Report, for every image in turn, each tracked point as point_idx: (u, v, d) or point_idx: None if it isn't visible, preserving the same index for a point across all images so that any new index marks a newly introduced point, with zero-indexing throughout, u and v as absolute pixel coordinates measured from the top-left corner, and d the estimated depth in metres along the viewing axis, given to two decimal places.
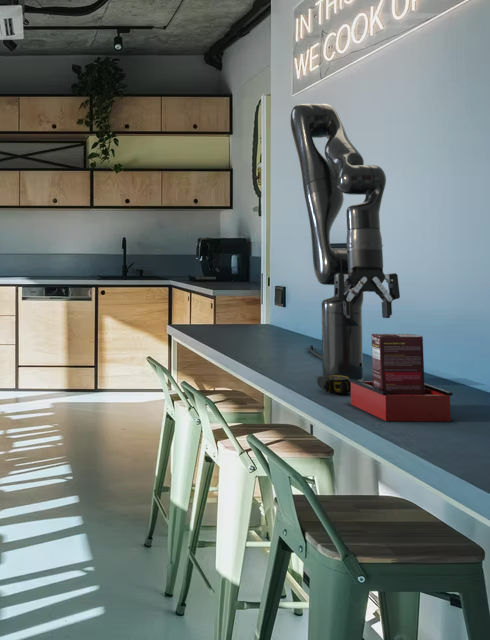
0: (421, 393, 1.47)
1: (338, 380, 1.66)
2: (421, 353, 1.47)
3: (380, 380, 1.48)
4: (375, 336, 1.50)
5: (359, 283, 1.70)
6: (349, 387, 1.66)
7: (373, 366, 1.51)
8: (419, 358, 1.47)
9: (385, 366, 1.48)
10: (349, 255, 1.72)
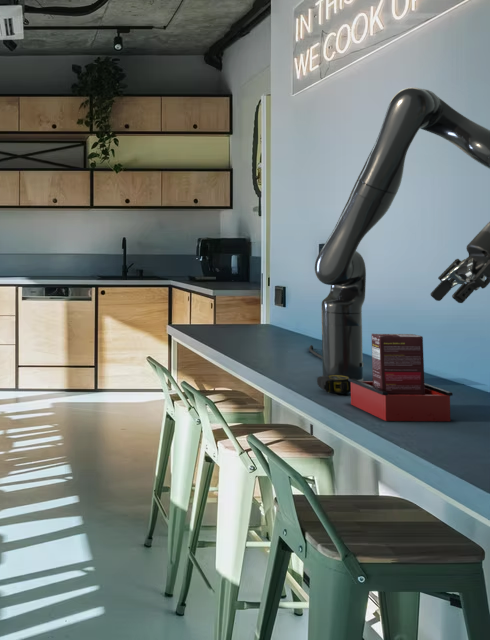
0: (421, 393, 1.47)
1: (338, 380, 1.66)
2: (421, 353, 1.47)
3: (381, 380, 1.48)
4: (375, 336, 1.50)
5: None
6: (349, 387, 1.66)
7: (373, 366, 1.51)
8: (419, 358, 1.47)
9: (385, 366, 1.48)
10: None
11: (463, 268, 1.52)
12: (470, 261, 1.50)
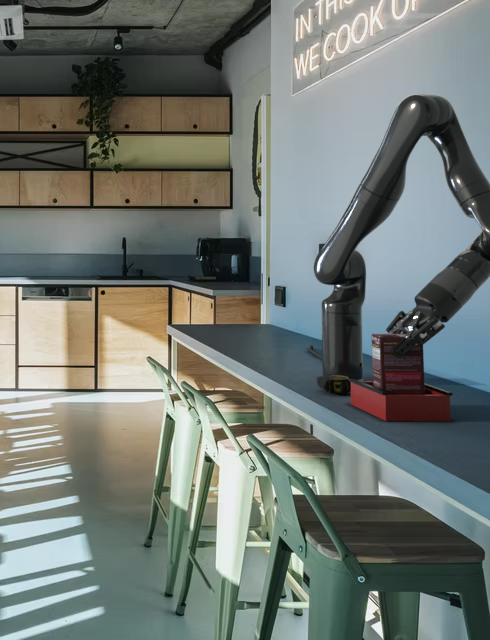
0: (421, 393, 1.47)
1: (338, 380, 1.66)
2: (421, 353, 1.47)
3: (381, 380, 1.48)
4: (375, 336, 1.50)
5: None
6: (349, 387, 1.66)
7: (373, 366, 1.51)
8: (419, 358, 1.47)
9: (385, 366, 1.48)
10: (451, 302, 1.46)
11: (410, 319, 1.51)
12: (417, 313, 1.49)
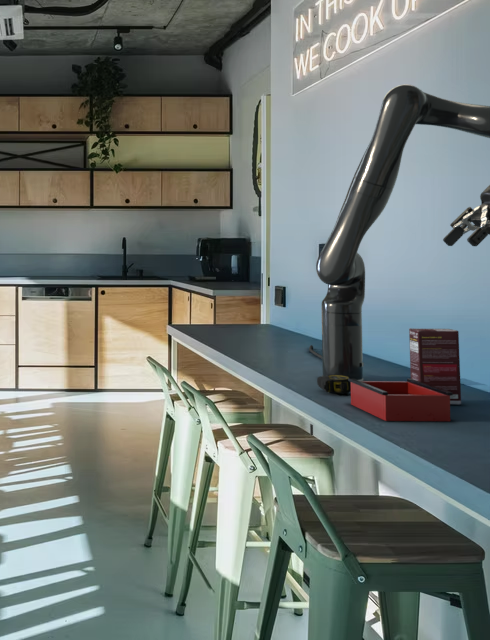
0: (457, 384, 1.57)
1: (338, 380, 1.66)
2: (457, 346, 1.57)
3: (419, 372, 1.58)
4: (413, 331, 1.60)
5: None
6: (349, 387, 1.66)
7: (411, 359, 1.61)
8: (455, 351, 1.57)
9: (423, 358, 1.57)
10: None
11: (476, 214, 1.58)
12: (484, 207, 1.55)
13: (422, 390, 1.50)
